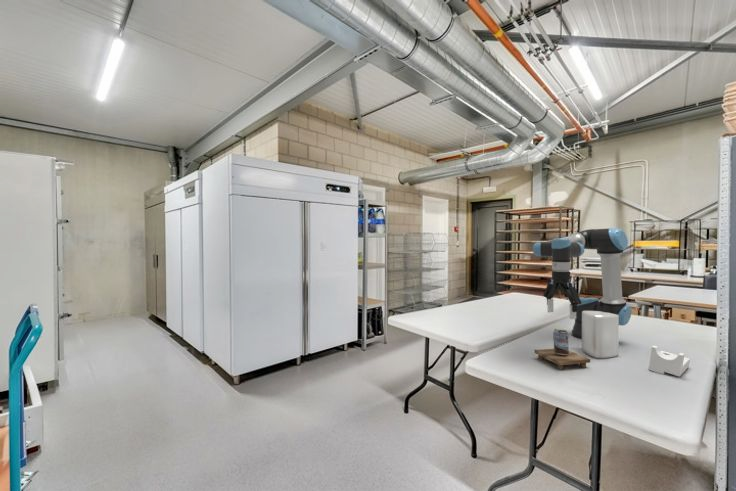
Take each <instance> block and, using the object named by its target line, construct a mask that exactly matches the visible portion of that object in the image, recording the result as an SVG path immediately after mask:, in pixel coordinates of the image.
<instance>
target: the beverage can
mask: <svg viewBox="0 0 736 491" xmlns="http://www.w3.org/2000/svg"><path fill="white" fill-rule="evenodd" d="M552 333H553V348H554V352H555V353H556V354H560V355H567V354H569V350H570V348H569V345H570V344H569V332H568V331H567V329H564V328H554V330H553V331H552Z"/></svg>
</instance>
